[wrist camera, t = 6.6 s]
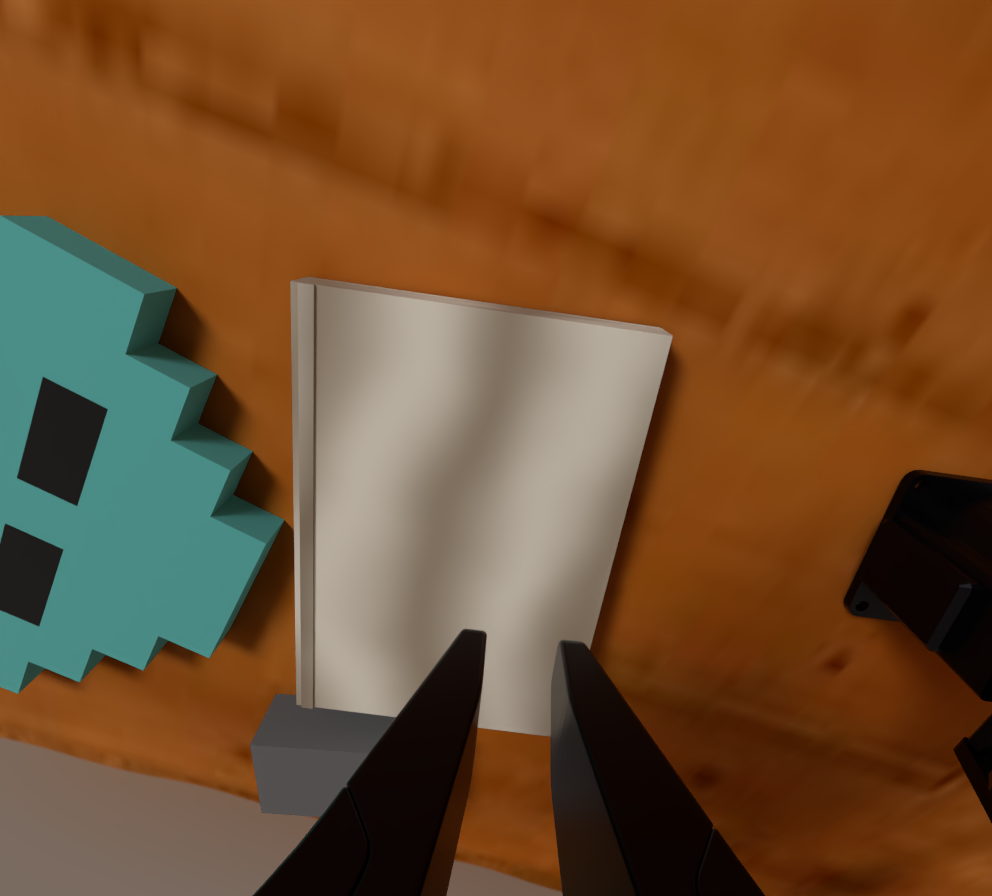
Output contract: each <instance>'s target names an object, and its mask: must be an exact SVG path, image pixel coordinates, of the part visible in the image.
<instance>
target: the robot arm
mask: <svg viewBox="0 0 992 896" xmlns="http://www.w3.org/2000/svg"><path fill="white" fill-rule="evenodd" d="M920 481H922V482H921V484H920V485H919V486H918V487H916V488H915V486H916V484H917V483H918V482H920ZM861 601H862V602H861ZM859 602H861V603H860V604H858V603H859ZM857 604H858V605H857ZM844 605H845V606H846V608H847V609H848V610H849V611H850V612H851V613H852V614H853V615H856V616H861V617H869V618H876V619H884V620H891V621H899V622H901V623H902V624H903V625H904V626H905V627H906V628H907V629H908V630H909V631H910V632H911V633H912V634H913V635H914V636H915V637H916V638H917V639H918V640H919V641H920V642H921V643H922V644H923V645H924V646H925V647H926V648H927V649H928V650H930V651H933V652H935V653H936V654H937V655H938V656H939V657H940V658H941V659H942V660H943V661H944V662H945V663H946V664H947V665H948V666H949V667H950V668H951V669H952V670H953V671H954V672H955V673H956V674H957V675H958V676H959V677H960V678H961V679H962V680H963V681H964V682H965V683H966V684H967V685H968V686H969V687H970V688H971V689H972V690H973V691H974V692H975V694H976V695H977V696H978V697H979V698H980V699H982V700H984V701H990V702H992V480H988V479H981V478H974V477H967V476H960V475H952V474H945V473H938V472H931V471H924V470H914V471H912V472H909V473H908V474H906V475H905V476H904V478H903V479H902V480H901V482H900V484H899V487H898V489H897V491H896V493H895V495H894V497H893V499H892V501H891V503H890V505H889V507H888V509H887V511H886V513H885V516H884V518H883V520H882V522H881V524H880V526H879V528H878V530H877V532H876V534H875V536H874V538H873V540H872V542H871V545H870V547H869V549H868V551H867V553H866V555H865V557H864V559H863V561H862V563H861V565H860V567H859V569H858V571H857V574H856V576H855V578H854V580H853V582H852V584H851V586H850V588H849V590H848V592H847V594H846V596H845V599H844ZM486 640H487V634H486V632H485V631H483V630H474V629H463V630H462V631H461V632H460V633H459V634H458V635H457V637H456V638H455V639H454V641H453V642H452V643H451V645H450V646H449V647H448V649H447V650H446V651H445V653H444V654H443V655H442V657H441V658H440V659H439V661H438V662H437V663H436V665H435V666H434V667H433V669H432V670H431V671H430V673H429V674H428V675H427V677H426V678H425V679H424V681H423V682H422V683H421V685H420V686H419V687H418V689H417V690H416V691H415V693H414V694H413V695H412V697H411V698H410V699H409V701H408V702H407V703H406V705H405V706H404V707H403V709H402V710H401V711H400V713H399V714H398V715H397V717H396V718H395V719H394V721H393V722H392V723H391V725H390V726H389V727H388V729H387V730H386V731H385V733H384V734H383V735H382V737H381V738H380V739H379V741H378V742H377V743H376V745H375V746H374V747H373V749H372V750H371V751H370V753H369V754H368V755H367V757H366V758H365V759H364V760H363V762H362V763H361V764H360V766H359V767H358V768H357V770H356V771H355V772H354V774H353V775H352V776H351V778H350V779H349V780H348V782H347V787H343V788H342V789H341V791H340V792H339V793H338V795H337V796H336V797H335V799H334V800H333V801H332V803H331V804H330V805H329V807H328V808H327V809H326V811H325V812H324V813H323V814H322V816H321V817H320V818H319V819H318V821H317V822H316V823H315V825H314V826H313V827H312V828H311V829H310V831H309V832H308V833H307V834H306V836H305V837H304V838H303V839H302V841H301V842H300V843H299V844H298V846H297V847H296V848H295V849H294V850H293V851H292V853H291V854H290V855H289V856H288V857H287V858H286V859H285V860H284V862H283V863H282V864H281V865H280V866H279V867H278V868H277V869H276V870H275V872H274V873H273V874H272V875H271V876H270V877H269V878H268V879H267V881H266V882H265V883H264V884H263V885H262V886H261V887H260V888H259V889H258V890H257V891H256V893H255V894H254V895H253V896H446V895H447V890H448V886H449V881H450V876H451V871H452V867H453V863H454V858H455V853H456V849H457V844H458V839H459V835H460V830H461V825H462V821H463V816H464V812H465V807H466V802H467V798H468V793H469V788H470V783H471V777H472V770H473V762H474V754H475V746H476V737H477V728H478V720H479V711H480V703H481V694H482V685H483V676H484V664H485V652H486ZM954 752H955V754H956V756H957V758H958V760H959V762H960V764H961V766H962V767H963V769H964V771H965V773H966V775H967V777H968V779H969V781H970V783H971V785H972V786H973V788H974V790H975V792H976V794H977V796H978V798H979V800H980V802H981V804H982V805H983V807H984V809H985V811H986V813H987V815H988V817H989V819H990V821H991V823H992V714H991V715H990V716H989V717H988V718H987V719H986V720H985V721H984V722H983V723H982V725H981V726H980V727H979V728H978V729H977V730H976V731H975V732H974V733H973V734H972V735H971V736H970V737H969V738H967V737H964V738H963V739H962V740H961V741H960V742H959V744H958V745H957V746H956V747H955V748H954ZM551 789H552V801H553V811H554V820H555V829H556V838H557V848H558V857H559V866H560V875H561V884H562V893H563V896H765V895H764V893H763V892H762V891H761V889H760V888H759V887H758V885H757V884H756V883H755V881H754V880H753V879H752V877H751V876H750V874H749V873H748V872H747V870H746V869H745V868H744V866H743V865H742V864H741V862H740V861H739V860H738V858H737V857H736V856H735V854H734V853H733V851H732V850H731V849H730V847H729V846H728V844H727V843H726V841H725V840H724V839H723V837H722V836H721V834H720V833H719V832H718V830H717V829H712V828H713V824H712V822H711V821H710V819H709V818H708V816H707V815H706V814H705V812H704V811H703V809H702V808H701V807H700V805H699V804H698V802H697V801H696V799H695V798H694V797H693V795H692V794H691V792H690V791H689V790H688V788H687V787H686V785H685V784H684V783H683V781H682V780H681V778H680V777H679V775H678V774H677V773H676V771H675V770H674V768H673V767H672V766H671V764H670V763H669V761H668V760H667V759H666V757H665V756H664V754H663V753H662V751H661V750H660V749H659V747H658V746H657V744H656V743H655V742H654V740H653V739H652V737H651V736H650V734H649V733H648V732H647V730H646V729H645V727H644V726H643V725H642V723H641V722H640V720H639V719H638V718H637V716H636V715H635V713H634V712H633V710H632V709H631V708H630V706H629V705H628V703H627V702H626V701H625V699H624V698H623V696H622V695H621V694H620V692H619V691H618V689H617V688H616V686H615V685H614V684H613V682H612V681H611V679H610V678H609V677H608V675H607V674H606V672H605V671H604V670H603V668H602V667H601V665H600V664H599V662H598V661H597V660H596V658H595V657H594V655H593V654H592V653H591V651H590V650H589V648H588V647H587V646H586V644H585V643H583V642H581V641H573V640H564V639H563V640H560V641H559V643H558V646H557V652H556V657H555V663H554V668H553V674H552V681H551Z"/></svg>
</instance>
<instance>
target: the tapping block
mask: <svg viewBox="0 0 992 896" xmlns="http://www.w3.org/2000/svg"><path fill="white" fill-rule="evenodd" d="M395 718H396V717H390V716H382V715H374V714H366V713H358V712H350V711H342V710H334V709H326V708H318V707H313V709H310V708H302V707H301V705H296V695H285V694H276V695H275V697H274V699H273V701H272V703H271V705H270V707H269V709H268V711H267V713H266V715H265V717H264V719H263V721H262V723H261V724H260V726H259V728H258V730H257V732H256V734H255V736H254V738H253V740H252V742H251V744H250V747H251V753H252V759H253V765H254V771H255V776H256V782H257V788H258V794H259V800H260V805H261V811H262V813H272V814H285V815H286V814H287V815H299V816H313V817H321V816H322V814H323V813H324V812H325V811H326V809H327V808H328V807H329V805H330V804H331V803H332V801H333V800H334V799H335V797H336V796H337V795H338V793H339V792H340V791H341V789H342V788H343V787H347V782H348V780H349V779H350V778H351V776H352V775H353V774H354V772H355V771H356V770H357V768H358V767H359V766H360V764H361V763H362V762H363V760H364V759H365V758H366V757H367V755H368V754H369V753H370V751H371V750H372V749H373V747H374V746H375V745H376V743H377V742H378V741H379V739H380V738H381V737H382V735H383V734H384V733H385V731H386V730H387V729H388V727H389V726H390V725H391V723H392V722H393V721H394V719H395Z"/></svg>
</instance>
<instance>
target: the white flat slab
mask: <svg viewBox="0 0 992 896" xmlns="http://www.w3.org/2000/svg"><path fill="white" fill-rule="evenodd" d="M672 337H673V336H672V335H671V334H669V333H668V332H666V331H665V330H663V329H662V328H660V327H653V326H646V325H639V324H632V323H626V322H619V321H612V320H605V319H598V318H591V317H584V316H577V315H570V314H563V313H556V312H549V311H542V310H535V309H528V308H521V307H514V306H507V305H501V304H494V303H487V302H480V301H473V300H466V299H459V298H452V297H445V296H438V295H431V294H424V293H417V292H410V291H403V290H396V289H389V288H382V287H376V286H369V285H362V284H355V283H348V282H341V281H334V280H327V279H320V278H313V277H305V278H301V279H297V280H293V281H291V349H292V421H293V493H294V565H295V637H296V705H301V707H302V708H310V709H313V707H318V708H326V709H334V710H342V711H350V712H358V713H366V714H374V715H382V716H390V717H397V715H398V714H399V713H400V711H401V710H402V709H403V707H404V706H405V705H406V703H407V702H408V701H409V699H410V698H411V697H412V695H413V694H414V693H415V691H416V690H417V689H418V687H419V686H420V685H421V683H422V682H423V681H424V679H425V678H426V677H427V675H428V674H429V673H430V671H431V670H432V669H433V667H434V666H435V665H436V663H437V662H438V661H439V659H440V658H441V657H442V655H443V654H444V653H445V651H446V650H447V649H448V647H449V646H450V645H451V643H452V642H453V641H454V639H455V638H456V637H457V635H458V634H459V633H460V632H461V631H462V630H463V629H474V630H483V631H485V632H486V634H487V640H486V652H485V664H484V676H483V685H482V694H481V703H480V711H479V720H478V728H486V729H494V730H502V731H510V732H518V733H526V734H534V735H542V736H550V737H551V681H552V674H553V668H554V663H555V657H556V652H557V646H558V643H559V641H560V640H563V639H564V640H573V641H581V642H583V643H585V644H586V646H587V647H588V648H589V650H590V647H591V643H592V640H593V636H594V632H595V628H596V624H597V621H598V617H599V613H600V609H601V606H602V602H603V598H604V594H605V591H606V587H607V583H608V579H609V575H610V572H611V568H612V564H613V560H614V557H615V553H616V549H617V545H618V541H619V538H620V534H621V530H622V526H623V523H624V519H625V515H626V511H627V507H628V504H629V500H630V496H631V492H632V489H633V485H634V481H635V477H636V473H637V470H638V466H639V462H640V458H641V455H642V451H643V447H644V443H645V439H646V436H647V432H648V428H649V424H650V421H651V417H652V413H653V409H654V405H655V402H656V398H657V394H658V390H659V387H660V383H661V379H662V375H663V371H664V368H665V364H666V360H667V356H668V353H669V349H670V345H671V341H672Z"/></svg>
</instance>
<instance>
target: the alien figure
mask: <svg viewBox="0 0 992 896" xmlns="http://www.w3.org/2000/svg"><path fill="white" fill-rule="evenodd" d="M176 290H177V288H176V287H174V286H172V285H170V284H169V283H167V282H165V281H163V280H161V279H160V278H158V277H156V276H154V275H152V274H151V273H149V272H147V271H145V270H143V269H142V268H140V267H138V266H136V265H134V264H132V263H131V262H129V261H127V260H125V259H123V258H122V257H120V256H118V255H116V254H114V253H113V252H111V251H109V250H107V249H105V248H104V247H102V246H100V245H98V244H96V243H95V242H93V241H91V240H89V239H87V238H86V237H84V236H82V235H80V234H78V233H76V232H75V231H73V230H71V229H69V228H67V227H66V226H64V225H62V224H60V223H58V222H57V221H55V220H53V219H51V218H49V217H48V216H0V687H2V688H5V689H7V690H10V691H12V692H15V693H17V694H18V693H19V692H21V691H22V690H23V689H24V688H25V687H26V686H27V685H28V684H29V683H30V682H31V681H32V680H33V679H34V678H35V677H36V676H37V675H39V674H40V673H41V672H42V671H43V670H44V669H45V668H46V669H48V670H51V671H53V672H55V673H58V674H60V675H63V676H65V677H68V678H70V679H73V680H75V681H77V682H81V680H82V679H83V678H84V677H85V676H86V675H87V674H88V673H89V672H90V671H91V670H92V669H93V668H94V667H95V666H96V665H97V664H98V663H99V662H100V661H101V659H102V658H103V657H104V656H105V655H108V656H110V657H112V658H115V659H117V660H119V661H122V662H124V663H127V664H129V665H131V666H134V667H136V668H138V669H141V670H144V669H145V668H146V667H147V666H148V664H149V663H150V662H151V661H152V660H153V658H154V657H155V656H156V655H157V654H158V652H159V651H160V650H161V649H162V648H163V646H164V645H165V644H166V643H167V642H168V641H171V642H173V643H175V644H178V645H180V646H182V647H184V648H187V649H189V650H191V651H194V652H196V653H198V654H201V655H203V656H205V657H207V658H210V657H211V655H212V654H213V652H214V651H215V650H216V648H217V647H218V645H219V644H220V642H221V641H222V640H223V638H224V637H225V635H226V634H227V633H228V631H229V630H230V628H231V626H232V624H233V622H234V620H235V618H236V616H237V614H238V612H239V610H240V608H241V606H242V604H243V602H244V600H245V598H246V596H247V594H248V592H249V590H250V588H251V586H252V584H253V582H254V580H255V578H256V576H257V574H258V572H259V570H260V568H261V566H262V564H263V562H264V560H265V558H266V556H267V554H268V552H269V550H270V548H271V546H272V544H273V542H274V540H275V538H276V536H277V534H278V532H279V530H280V528H281V526H282V524H283V522H284V520H283V519H281V518H279V517H277V516H275V515H273V514H271V513H269V512H267V511H265V510H263V509H261V508H259V507H257V506H255V505H253V504H251V503H249V502H247V501H245V500H243V499H241V498H239V497H237V496H235V495H234V492H235V490H236V488H237V486H238V483H239V481H240V479H241V477H242V474H243V472H244V470H245V468H246V465H247V463H248V461H249V459H250V456H251V454H252V452H253V451H251V450H249V449H247V448H245V447H243V446H241V445H239V444H237V443H235V442H233V441H231V440H230V439H228V438H226V437H224V436H222V435H220V434H218V433H216V432H214V431H212V430H210V429H208V428H206V427H204V426H202V425H200V424H198V422H199V420H200V417H201V414H202V412H203V409H204V407H205V404H206V402H207V399H208V397H209V394H210V391H211V389H212V386H213V384H214V381H215V379H216V376H217V374H215V373H213V372H211V371H209V370H208V369H206V368H204V367H202V366H200V365H198V364H196V363H194V362H193V361H191V360H189V359H187V358H185V357H183V356H181V355H179V354H177V353H176V352H174V351H172V350H170V349H168V348H166V347H164V346H162V345H161V344H159V340H160V337H161V334H162V331H163V328H164V325H165V322H166V319H167V316H168V313H169V310H170V307H171V304H172V301H173V299H174V296H175V293H176Z"/></svg>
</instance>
